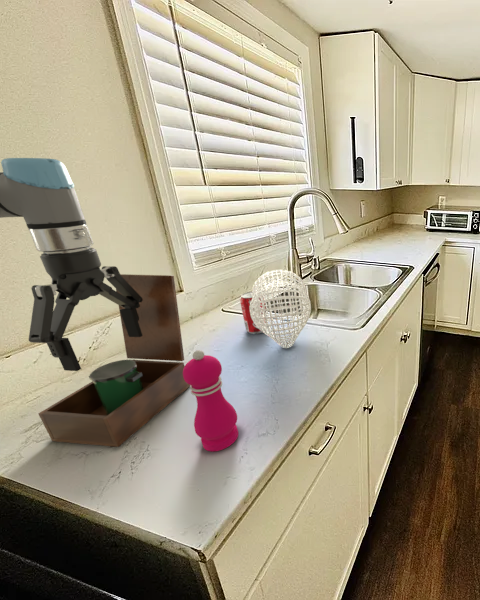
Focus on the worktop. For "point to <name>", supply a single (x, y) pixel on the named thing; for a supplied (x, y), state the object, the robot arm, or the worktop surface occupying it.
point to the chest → (121, 422)
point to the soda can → (248, 320)
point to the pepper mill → (210, 403)
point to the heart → (257, 313)
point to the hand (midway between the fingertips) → (107, 351)
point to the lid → (155, 319)
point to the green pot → (116, 383)
